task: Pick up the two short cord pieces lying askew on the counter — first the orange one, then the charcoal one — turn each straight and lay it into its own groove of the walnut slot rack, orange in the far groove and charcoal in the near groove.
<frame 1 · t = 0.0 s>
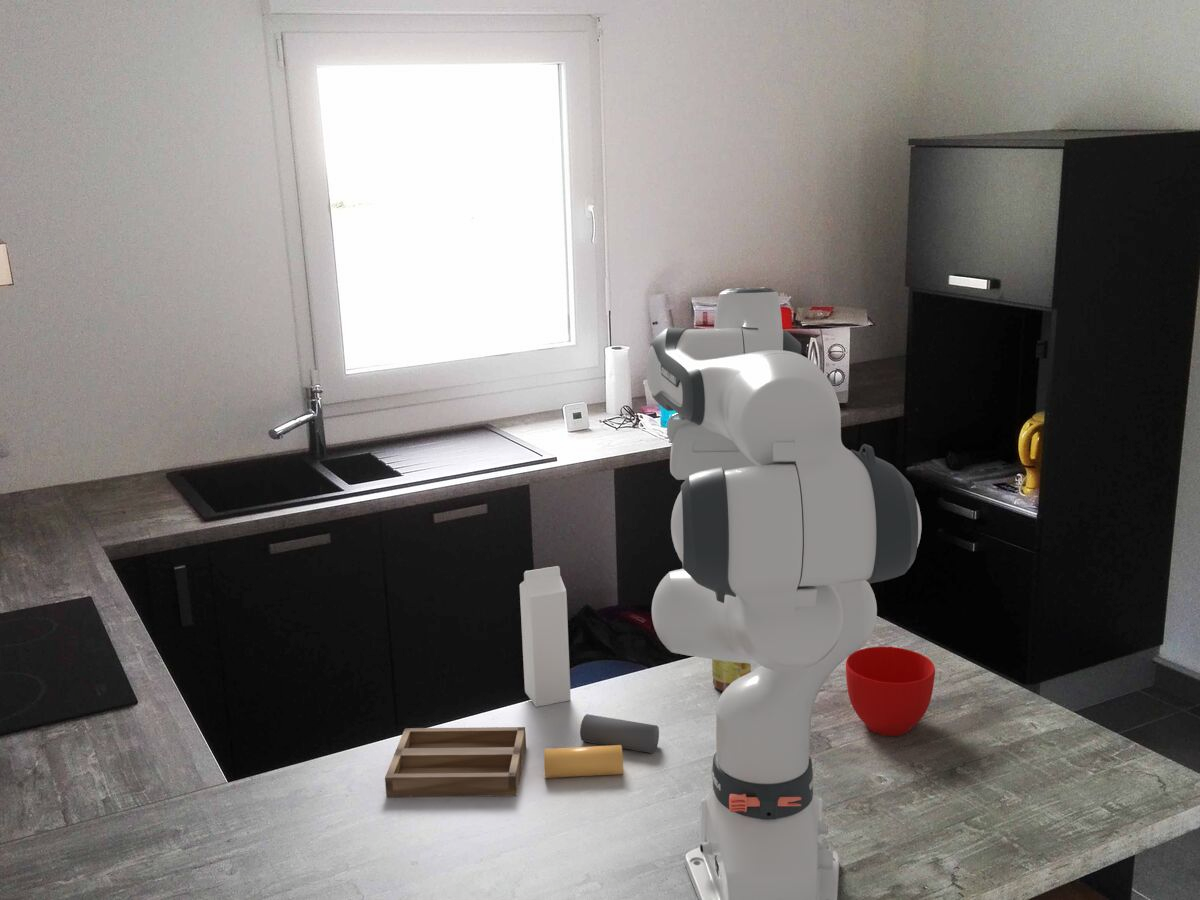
hand: (745, 506, 156), 39 cm above the countertop, tool pointing down, fingers open, 8 cm apart
ceramic cup: (888, 720, 178), on the countertop
sauce bottle: (731, 686, 191), on the countertop
orange rod: (583, 774, 165), on the countertop
charcoal rod: (619, 745, 173), on the countertop
milk: (547, 697, 189), on the countertop
slot rack: (458, 770, 167), on the countertop
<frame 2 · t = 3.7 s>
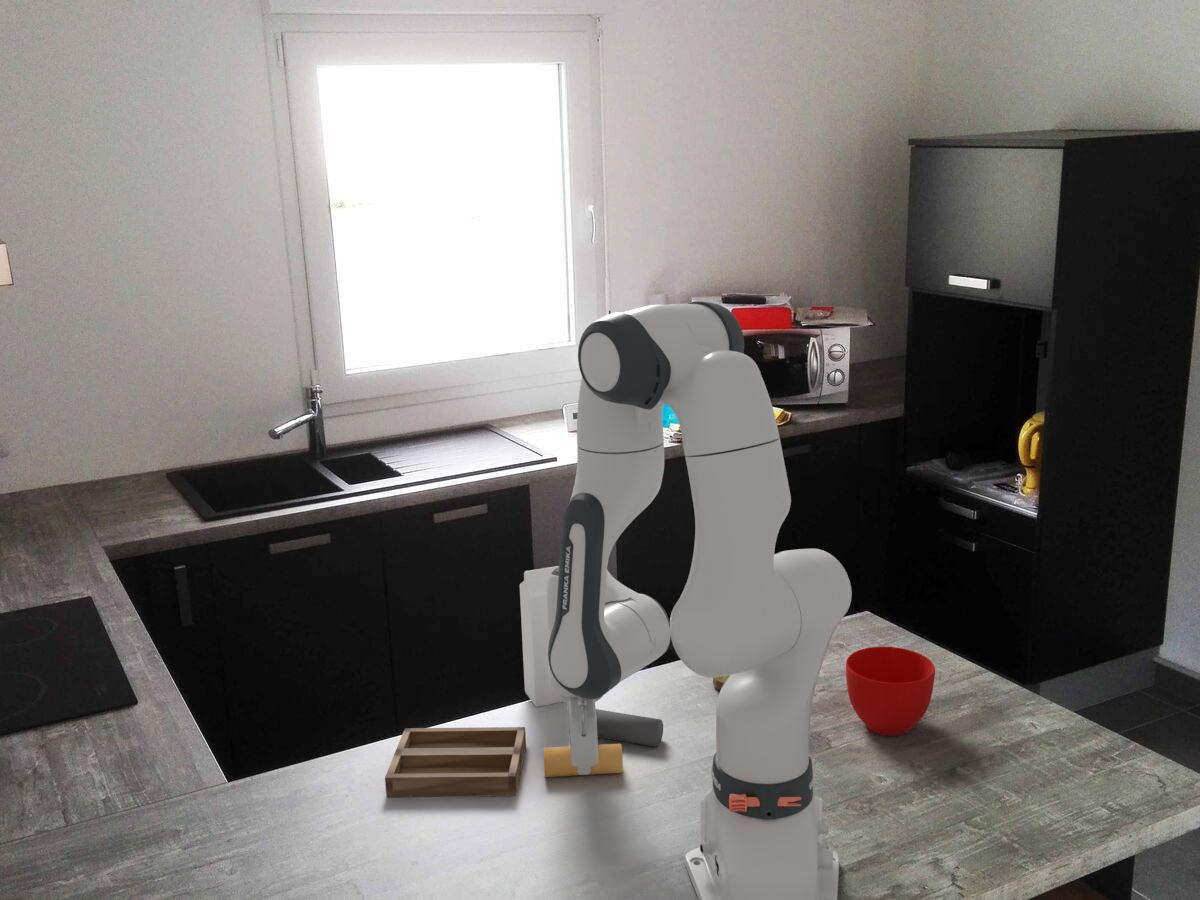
hand: (583, 762, 165), 2 cm above the countertop, tool pointing down, fingers closed on orange rod, 4 cm apart
orange rod: (583, 768, 166), on the countertop, tilted 23°, touching gripper
charcoal rod: (620, 738, 173), point 1 cm above the countertop, tilted 60°
everything else where it was.
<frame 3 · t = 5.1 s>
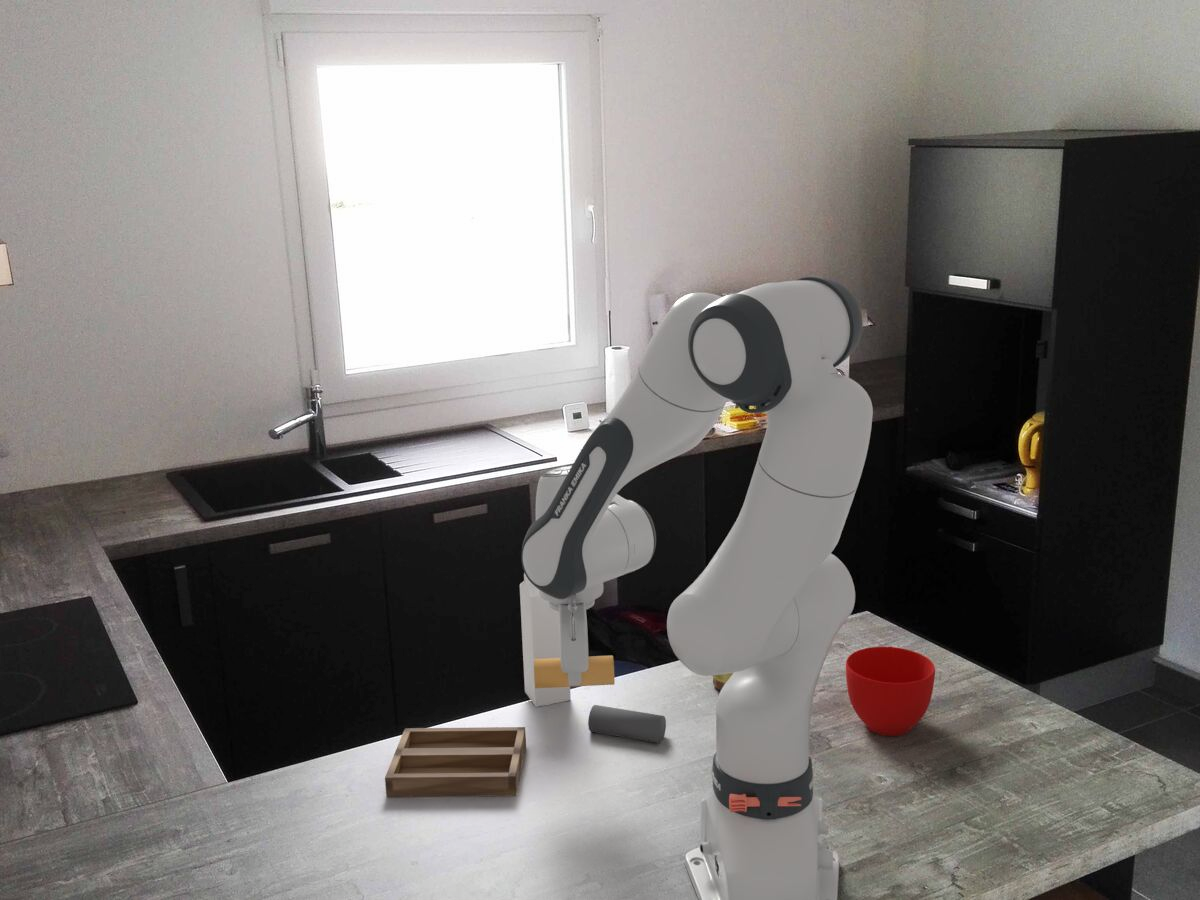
hand: (574, 674, 162), 15 cm above the countertop, tool pointing down, fingers closed on orange rod, 4 cm apart
orange rod: (574, 681, 163), point 14 cm above the countertop, tilted 23°, touching gripper
charcoal rod: (622, 728, 173), point 2 cm above the countertop, tilted 97°
everything else where it was.
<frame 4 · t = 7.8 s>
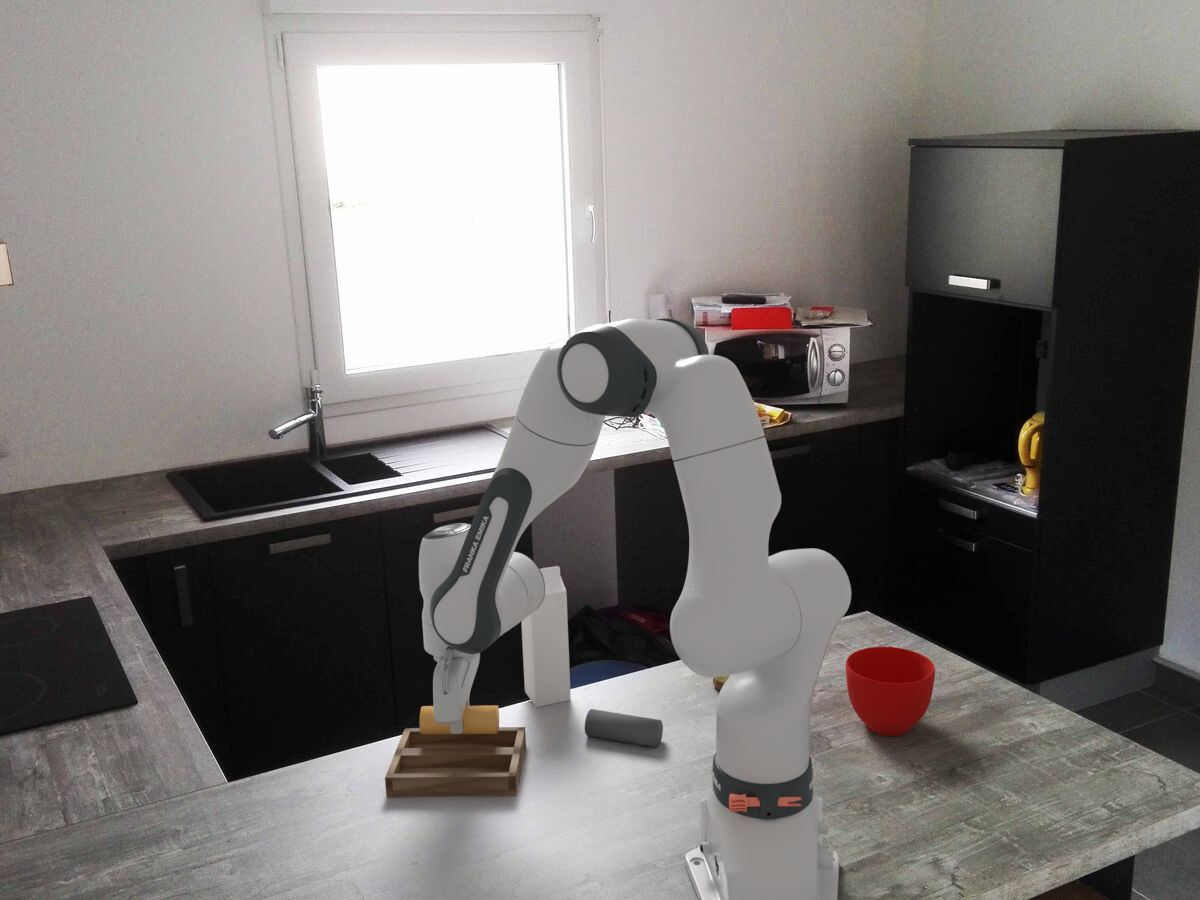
hand: (460, 722, 169), 6 cm above the countertop, tool pointing down, fingers closed on orange rod, 4 cm apart
orange rod: (461, 728, 170), point 4 cm above the countertop, tilted 24°, touching gripper
charcoal rod: (620, 740, 173), point 1 cm above the countertop, tilted 54°
everything else where it was.
when the fingers open (5 cm above the countertop, at t = 8.3 s): orange rod drops 3 cm, resting on slot rack.
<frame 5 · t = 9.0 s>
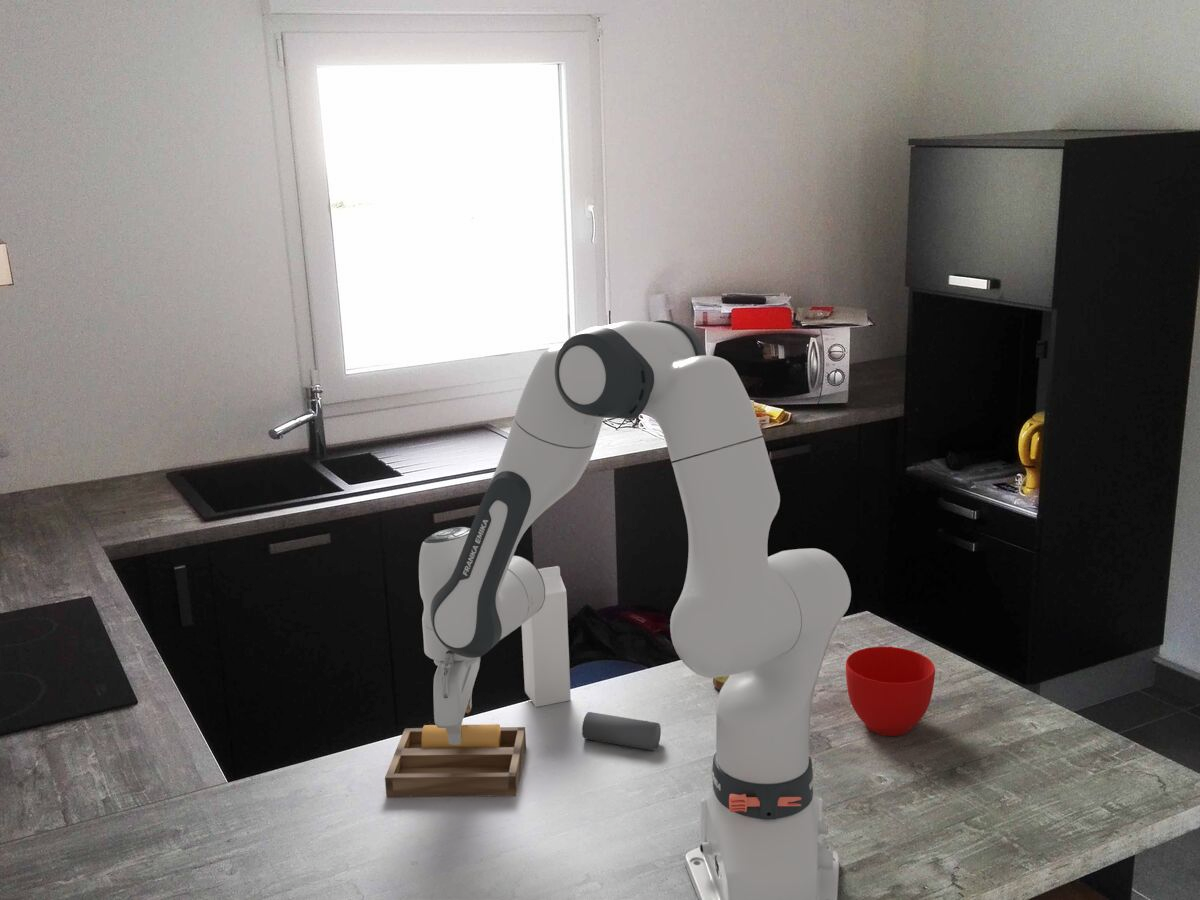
hand: (460, 726, 169), 5 cm above the countertop, tool pointing down, fingers open, 8 cm apart
orange rod: (462, 748, 171), point 1 cm above the countertop, tilted 17°, touching slot rack
charcoal rod: (619, 744, 173), on the countertop, tilted 25°
everything else where it was.
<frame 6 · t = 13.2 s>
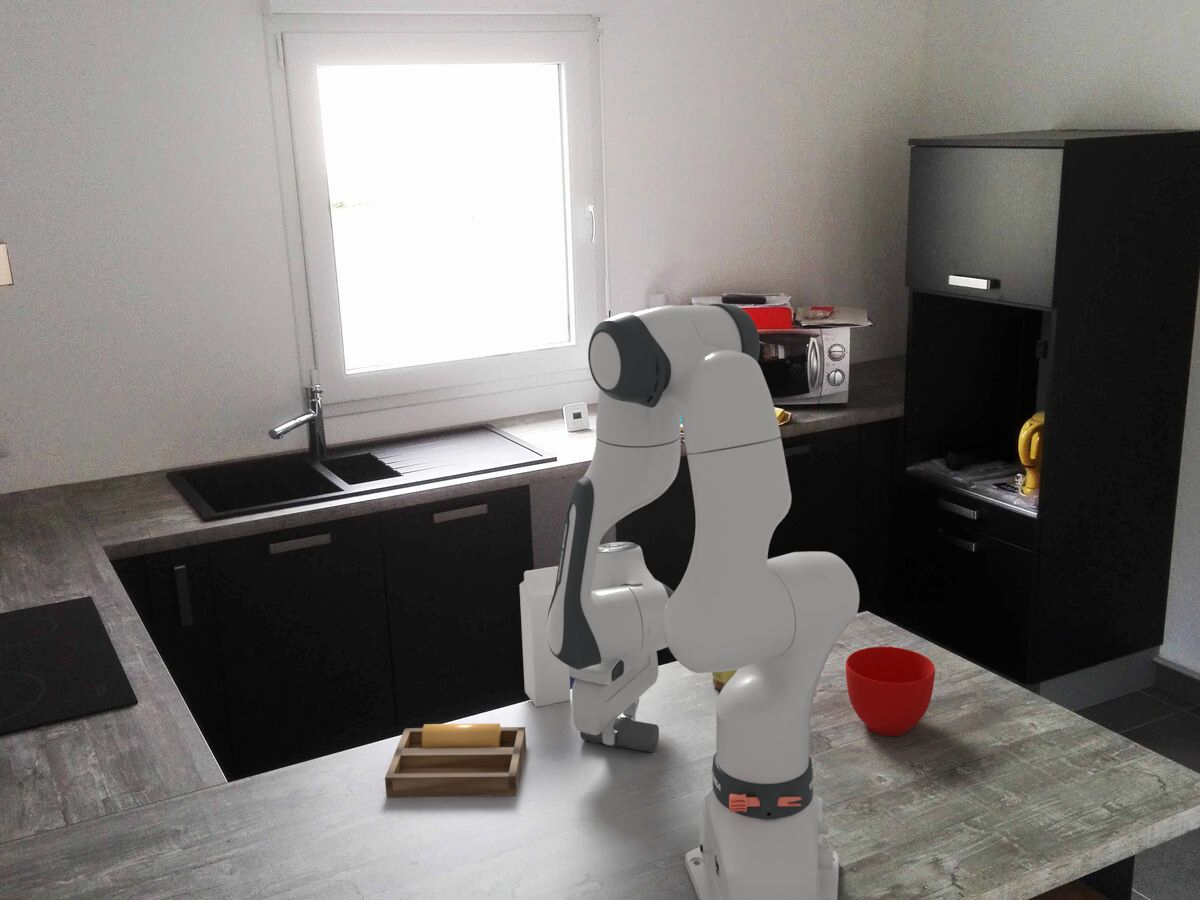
hand: (619, 734, 173), 2 cm above the countertop, tool pointing down, fingers closed on charcoal rod, 4 cm apart
orange rod: (462, 748, 171), point 1 cm above the countertop, tilted 10°, touching slot rack
charcoal rod: (619, 744, 173), on the countertop, touching gripper
everything else where it was.
when the fingers open (5 cm above the countertop, at t = 18.0 s): charcoal rod drops 2 cm, resting on slot rack.
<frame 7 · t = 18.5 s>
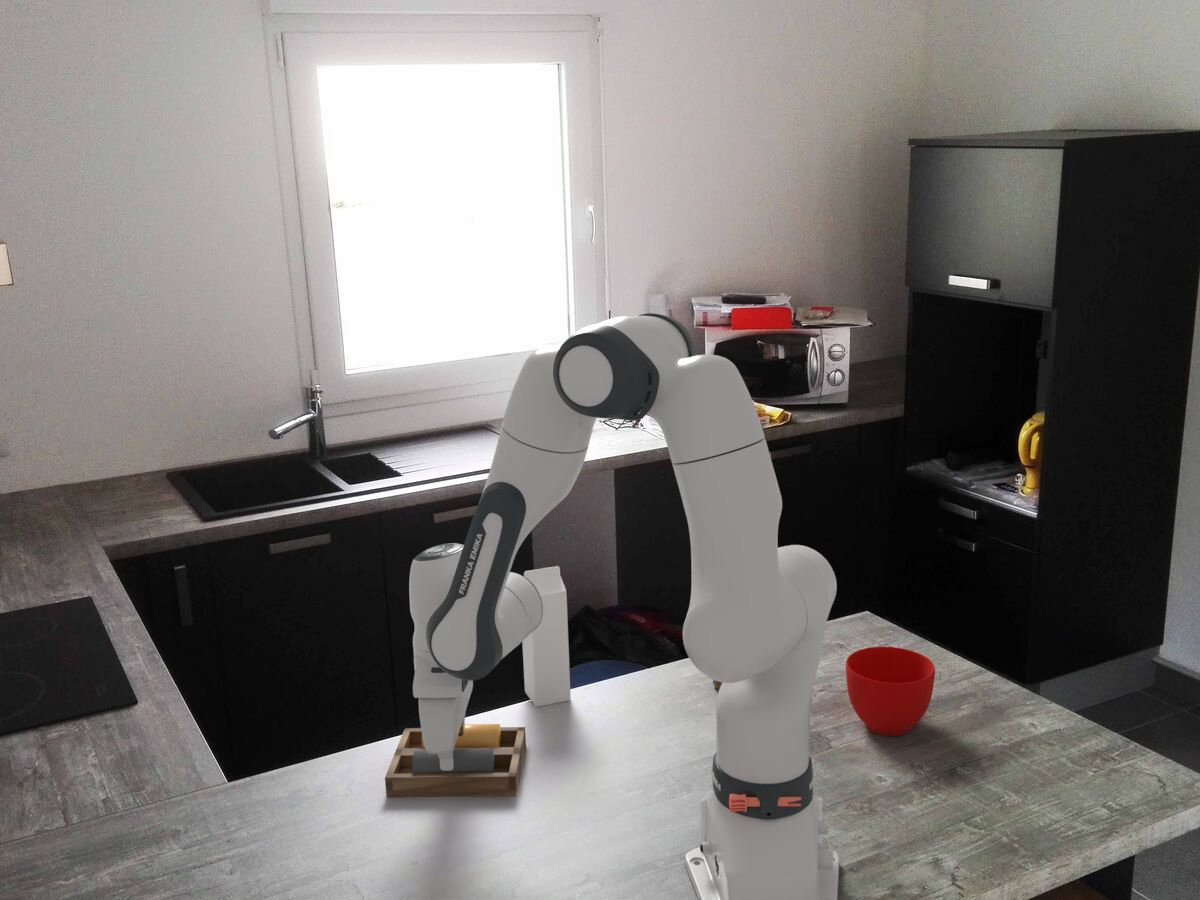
hand: (453, 750, 162), 5 cm above the countertop, tool pointing down, fingers open, 8 cm apart
orange rod: (462, 748, 171), point 1 cm above the countertop, tilted 15°, touching slot rack
charcoal rod: (454, 776, 163), point 1 cm above the countertop, touching slot rack
everything else where it was.
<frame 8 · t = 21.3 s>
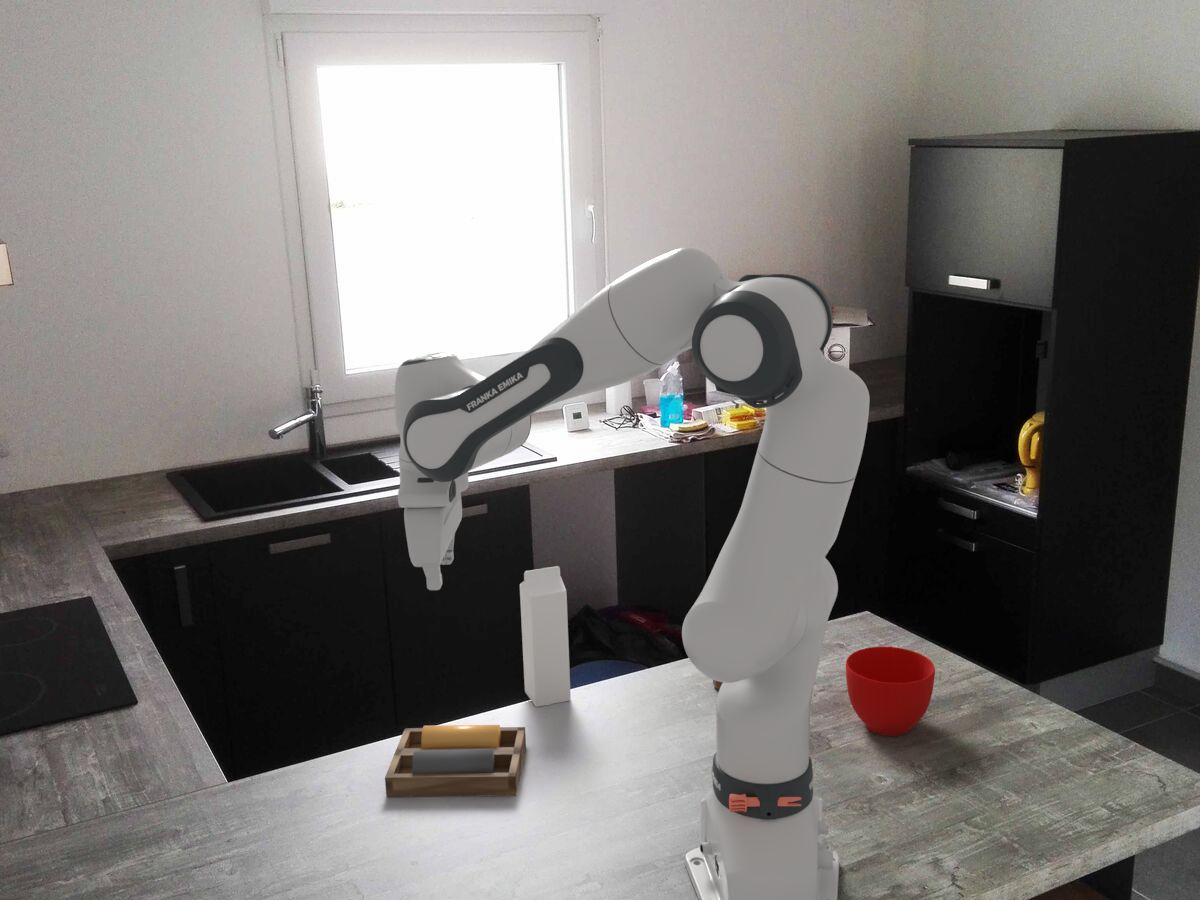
hand: (441, 575, 156), 31 cm above the countertop, tool pointing down, fingers open, 8 cm apart
orange rod: (462, 748, 171), point 1 cm above the countertop, tilted 21°, touching slot rack
everything else where it was.
at the end: orange rod inside the target area on the slot rack (0.8 cm from its centre), point 1.1 cm above the slot rack's base; charcoal rod inside the target area on the slot rack (0.0 cm from its centre), point 1.0 cm above the slot rack's base; the gripper is holding nothing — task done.
